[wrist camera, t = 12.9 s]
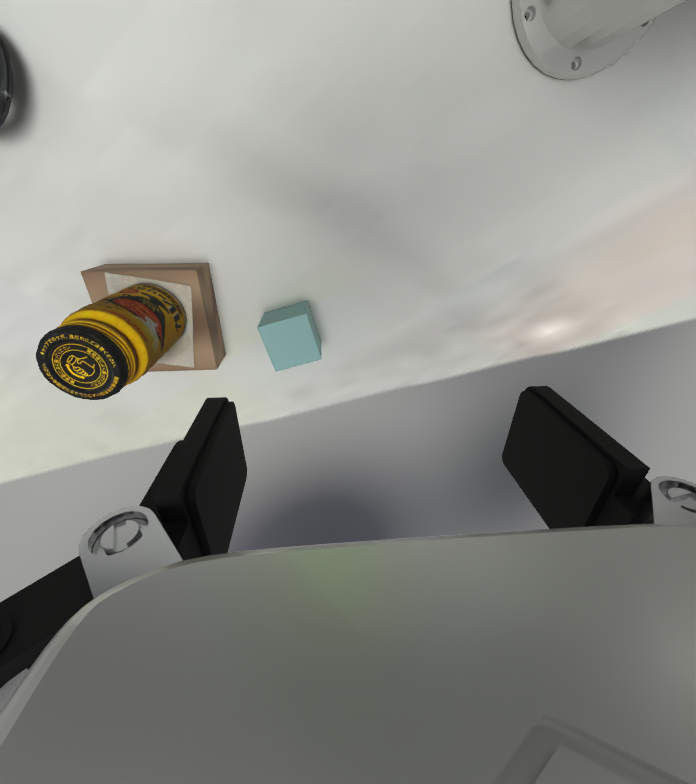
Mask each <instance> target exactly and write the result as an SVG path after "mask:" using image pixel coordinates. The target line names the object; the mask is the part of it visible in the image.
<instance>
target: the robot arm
mask: <svg viewBox="0 0 696 784" xmlns="http://www.w3.org/2000/svg"><path fill="white" fill-rule="evenodd" d="M684 1H686V0H512V10H513V20H514V25H515V29H516V32H517V36H518V40H519V42H520V44H521V46H522V48H523V50H524V52H525V54H526V56H527V57H528V58H529V59H530V61H531V62H532V63H533V65H534V66H535V67H537V68H538V69H539V70H541V71H542V72H543V73H544V74H547V75H549V76H552V77H554V78H557V79H567V80H572V79H578V78H584V77H586V76H589V75H591V74H594V73H596V72H598V71H600V70H602V69H604V68H606V67H608V66H610V65H612V64H613V63H614V62H616V61H617V60H618V59H620V58H621V57H622V56H623V55H625V54H626V53H627V52H628V51H629V50H630V49H631V48H632V47H633V46H634V45H635V44H636V43H637V42H638V41H639V40H640V39H641V37H642V36H643V35H644V33H645V32H646V31H647V30H648V28H649V27H650V26H651V24H652V23H653V21H654V19H655V18H656V17H657V16H658V15H660V14H662V13H664V12H666V11H668V10H669V9H671V8H673V7H675V6H677V5H679V4H681V3H682V2H684ZM525 15H526V17H527V20H526V19H525ZM571 65H572V68H571ZM502 459H503V463H504V465H505V466H506V468H507V469H508V471H509V472H510V473H511V475H512V476H513V478H514V479H515V481H516V482H517V483H518V485H519V486H520V488H521V489H522V491H523V492H524V493H525V495H526V496H527V498H528V499H529V500H530V502H531V503H532V505H533V506H534V508H535V509H536V510H537V512H538V513H539V514H540V516H541V517H542V519H543V520H544V522H545V523H546V524H547V526H548V527H549V529H542V530H525V531H509V532H495V533H479V534H463V535H449V536H434V537H419V538H405V539H390V540H376V541H362V542H349V543H335V544H321V545H308V546H296V547H284V548H272V549H261V550H250V551H240V552H232V553H227V552H228V548H229V544H230V540H231V536H232V533H233V529H234V524H235V521H236V517H237V513H238V509H239V505H240V501H241V497H242V493H243V489H244V486H245V482H246V476H247V466H246V461H245V456H244V450H243V445H242V440H241V435H240V429H239V424H238V419H237V413H236V408H235V404H234V402H229V401H228V399H227V398H226V397H222V398H207V399H206V400H205V402H204V404H203V406H202V407H201V409H200V411H199V413H198V415H197V416H196V418H195V420H194V422H193V424H192V425H191V427H190V429H189V431H188V433H187V434H186V436H185V438H184V440H181V441H178V442H177V443H176V444H175V445H174V447H173V449H172V451H171V453H170V454H169V456H168V457H167V459H166V461H165V463H164V464H163V466H162V468H161V470H160V471H159V473H158V475H157V476H156V478H155V480H154V482H153V483H152V485H151V487H150V489H149V490H148V492H147V493H146V495H145V497H144V499H143V500H142V502H141V504H140V506H131V507H127V508H121V509H119V510H116V511H114V512H111V513H109V514H108V515H106V516H104V517H103V518H101V519H99V520H98V521H97V522H96V523H95V524H93V525H92V526H91V527H90V528H89V529H88V530H87V532H86V533H85V534H84V535H83V537H82V539H81V541H80V544H79V555H80V556H78V557H76V558H75V559H73V560H71V561H70V562H68V563H66V564H65V565H63V566H61V567H60V568H58V569H56V570H55V571H53V572H51V573H49V574H48V575H46V576H44V577H43V578H41V579H39V580H37V581H36V582H34V583H33V584H31V585H29V586H27V587H26V588H24V589H23V590H21V591H19V592H17V593H16V594H14V595H12V596H10V597H9V598H7V599H5V600H4V601H2V602H0V784H696V484H694V483H692V482H689V481H687V480H683V479H680V478H676V477H668V476H660V477H656V478H654V479H653V480H652V481H651V482H649V481H648V480H647V479H646V478H645V476H646V474H647V473H648V471H649V469H650V468H649V467H648V466H647V465H645V464H644V463H643V462H642V461H640V460H639V459H638V458H637V457H635V456H634V455H633V454H632V453H630V452H629V451H628V450H627V449H625V448H624V447H623V446H622V445H621V444H619V443H618V442H617V441H616V440H614V439H613V438H612V437H611V436H609V435H608V434H607V433H606V432H604V431H603V430H602V429H601V428H599V427H598V426H597V425H596V424H594V423H593V422H592V421H591V420H589V419H588V418H587V417H586V416H585V415H583V414H582V413H581V412H580V411H578V410H577V409H576V408H574V407H573V406H572V405H571V404H570V403H568V402H567V401H566V400H565V399H563V398H562V397H561V396H560V395H558V394H557V393H556V392H555V391H553V390H552V389H551V388H550V387H548V386H531V387H528V388H526V390H525V391H523V392H522V393H521V394H520V396H519V400H518V403H517V407H516V410H515V413H514V417H513V420H512V424H511V427H510V430H509V434H508V437H507V440H506V444H505V447H504V451H503V454H502Z"/></svg>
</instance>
